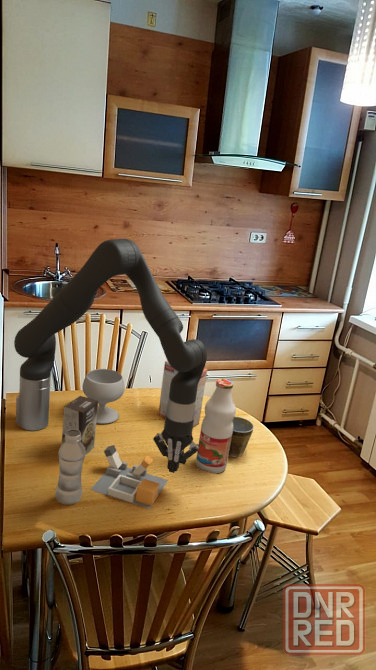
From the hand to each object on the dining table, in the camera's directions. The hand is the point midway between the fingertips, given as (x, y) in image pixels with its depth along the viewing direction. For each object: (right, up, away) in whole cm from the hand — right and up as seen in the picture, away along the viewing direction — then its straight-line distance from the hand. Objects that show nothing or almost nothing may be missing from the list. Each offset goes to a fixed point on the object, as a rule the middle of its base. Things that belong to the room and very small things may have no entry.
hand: (172, 470), depth 140 cm
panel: (-12, -5, +1) cm, 13 cm away
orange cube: (-7, -6, -4) cm, 10 cm away
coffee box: (-29, +2, +15) cm, 32 cm away
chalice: (-25, +9, +37) cm, 45 cm away
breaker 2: (-10, -2, +4) cm, 11 cm away
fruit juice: (+11, -3, +17) cm, 20 cm away
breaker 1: (-16, 0, +5) cm, 17 cm away
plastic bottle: (-27, -6, -7) cm, 28 cm away
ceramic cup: (+18, 0, +27) cm, 32 cm away
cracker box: (+1, +7, +42) cm, 42 cm away
